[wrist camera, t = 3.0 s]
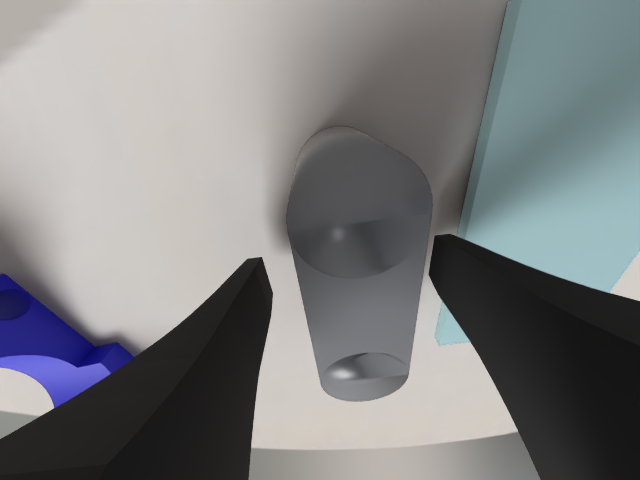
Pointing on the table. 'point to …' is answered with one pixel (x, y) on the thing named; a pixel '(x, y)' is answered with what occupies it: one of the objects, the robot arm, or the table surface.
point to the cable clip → (50, 346)
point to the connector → (359, 258)
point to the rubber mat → (559, 145)
